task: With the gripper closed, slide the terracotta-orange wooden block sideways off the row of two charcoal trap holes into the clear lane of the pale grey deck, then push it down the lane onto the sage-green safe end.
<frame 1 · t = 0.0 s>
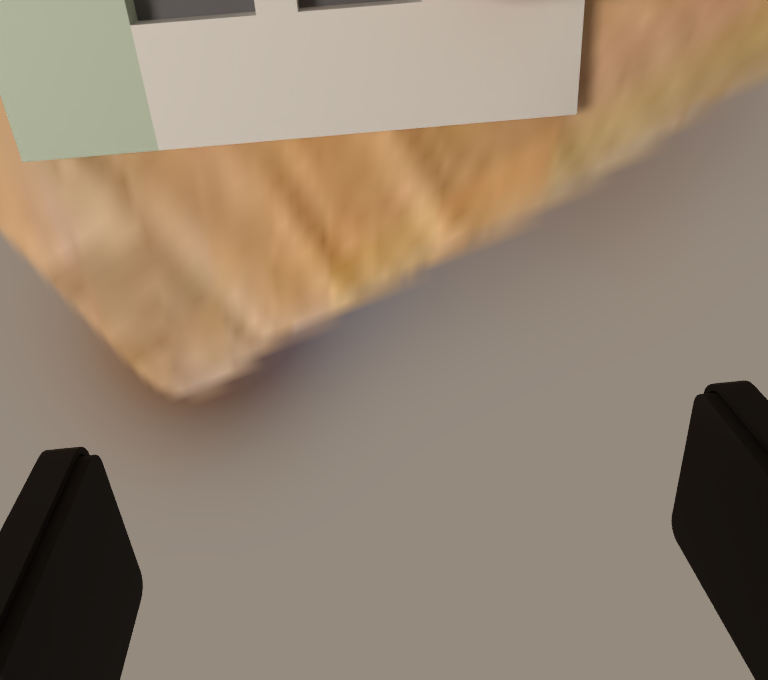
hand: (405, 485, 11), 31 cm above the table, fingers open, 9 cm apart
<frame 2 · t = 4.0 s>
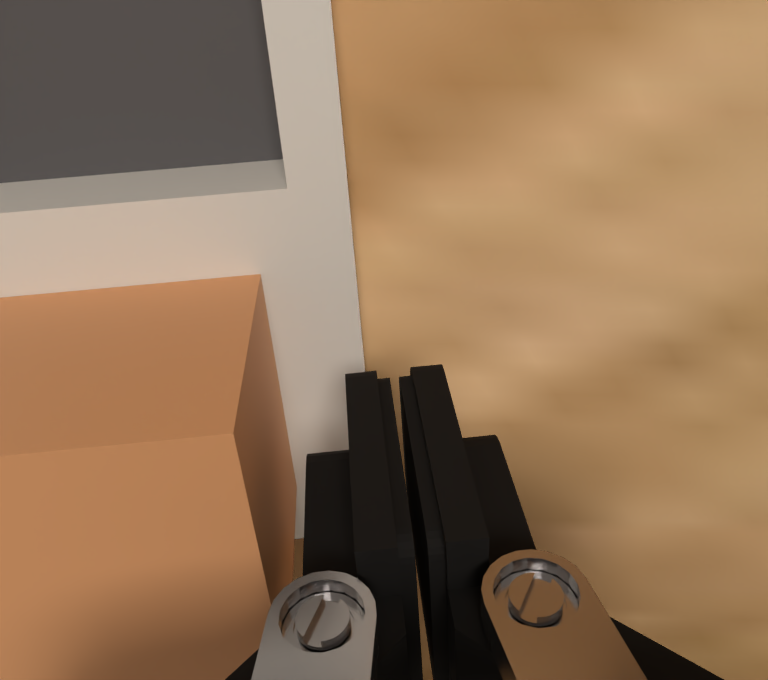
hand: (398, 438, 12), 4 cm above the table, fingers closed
block: (150, 402, 14), point 2 cm above the table, touching gripper
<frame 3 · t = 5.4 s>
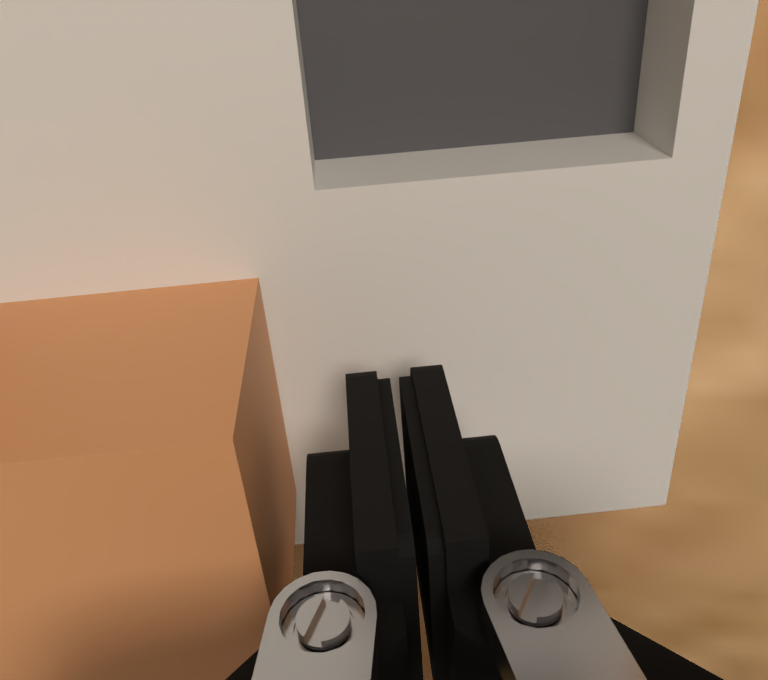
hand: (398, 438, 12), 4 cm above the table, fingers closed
block: (148, 408, 14), point 2 cm above the table, touching gripper, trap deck
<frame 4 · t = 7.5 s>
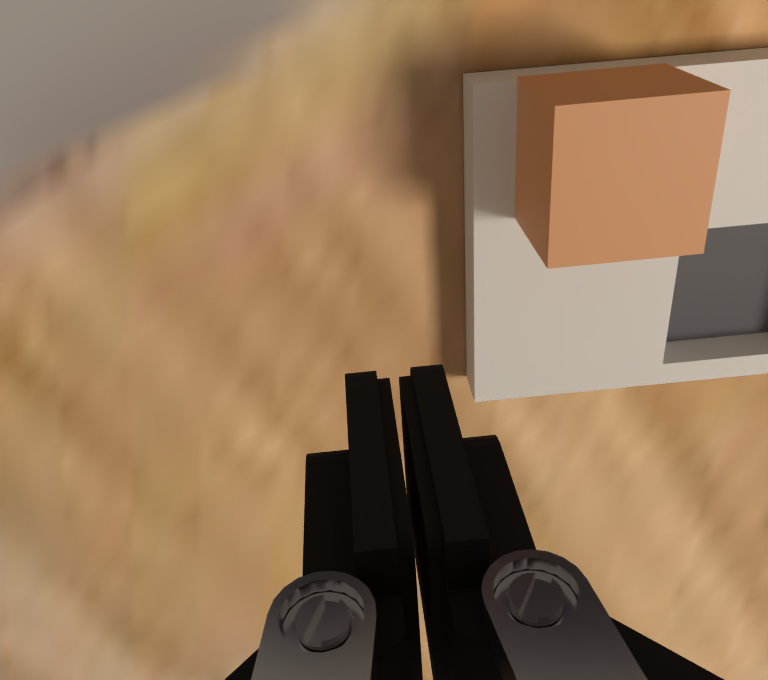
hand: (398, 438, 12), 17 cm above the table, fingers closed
block: (586, 144, 25), point 2 cm above the table, touching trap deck
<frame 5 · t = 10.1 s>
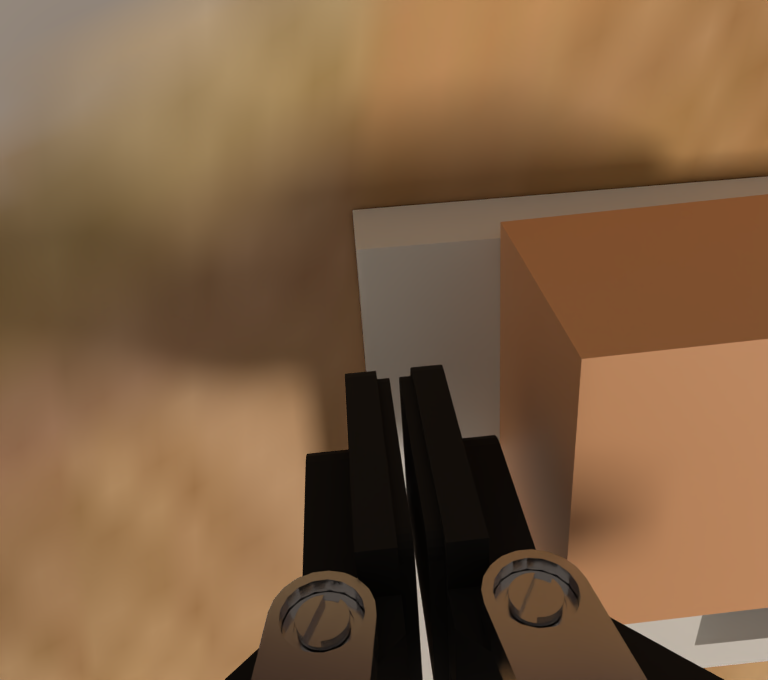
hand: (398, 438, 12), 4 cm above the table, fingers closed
block: (629, 331, 14), point 2 cm above the table, touching gripper
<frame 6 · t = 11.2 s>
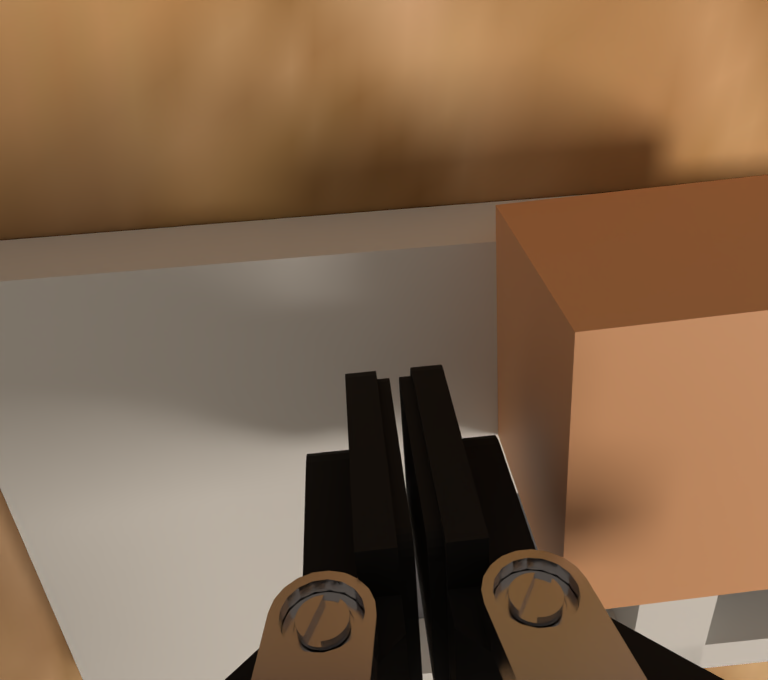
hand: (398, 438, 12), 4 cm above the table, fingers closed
block: (626, 315, 14), point 2 cm above the table, touching gripper, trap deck
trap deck: (647, 439, 18), on the table
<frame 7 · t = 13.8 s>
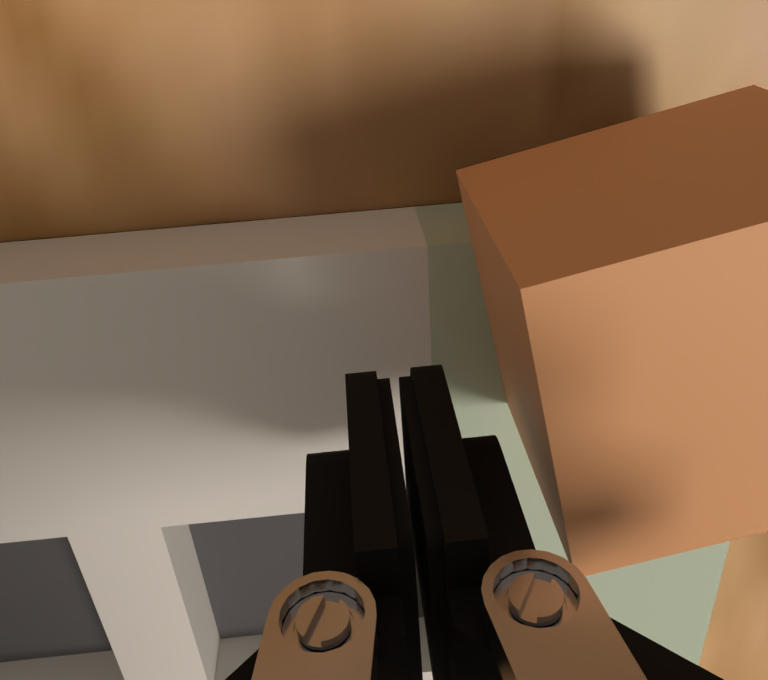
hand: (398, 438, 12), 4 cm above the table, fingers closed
block: (616, 261, 13), point 2 cm above the table, touching gripper, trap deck
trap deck: (119, 488, 17), on the table
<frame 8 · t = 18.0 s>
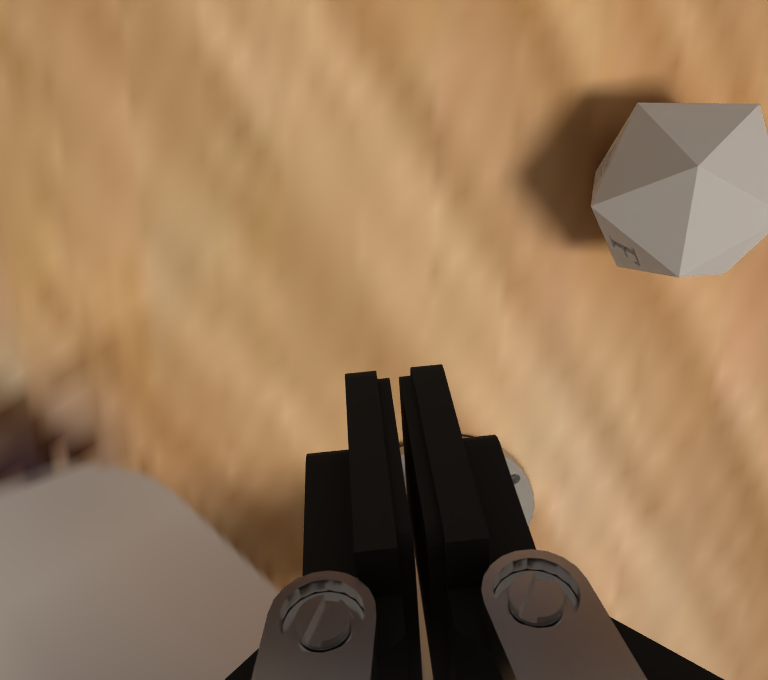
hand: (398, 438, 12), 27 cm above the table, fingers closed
die: (649, 166, 39), on the table
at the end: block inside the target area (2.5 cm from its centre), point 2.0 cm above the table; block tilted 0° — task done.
